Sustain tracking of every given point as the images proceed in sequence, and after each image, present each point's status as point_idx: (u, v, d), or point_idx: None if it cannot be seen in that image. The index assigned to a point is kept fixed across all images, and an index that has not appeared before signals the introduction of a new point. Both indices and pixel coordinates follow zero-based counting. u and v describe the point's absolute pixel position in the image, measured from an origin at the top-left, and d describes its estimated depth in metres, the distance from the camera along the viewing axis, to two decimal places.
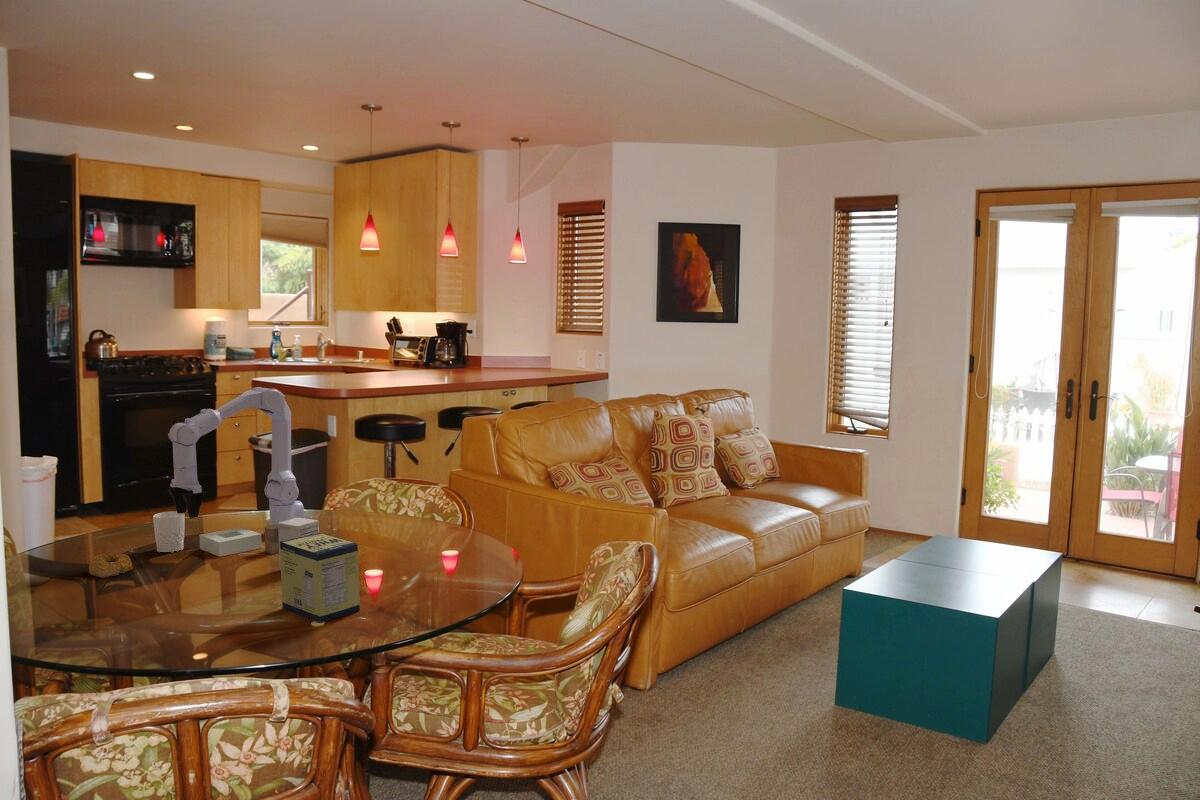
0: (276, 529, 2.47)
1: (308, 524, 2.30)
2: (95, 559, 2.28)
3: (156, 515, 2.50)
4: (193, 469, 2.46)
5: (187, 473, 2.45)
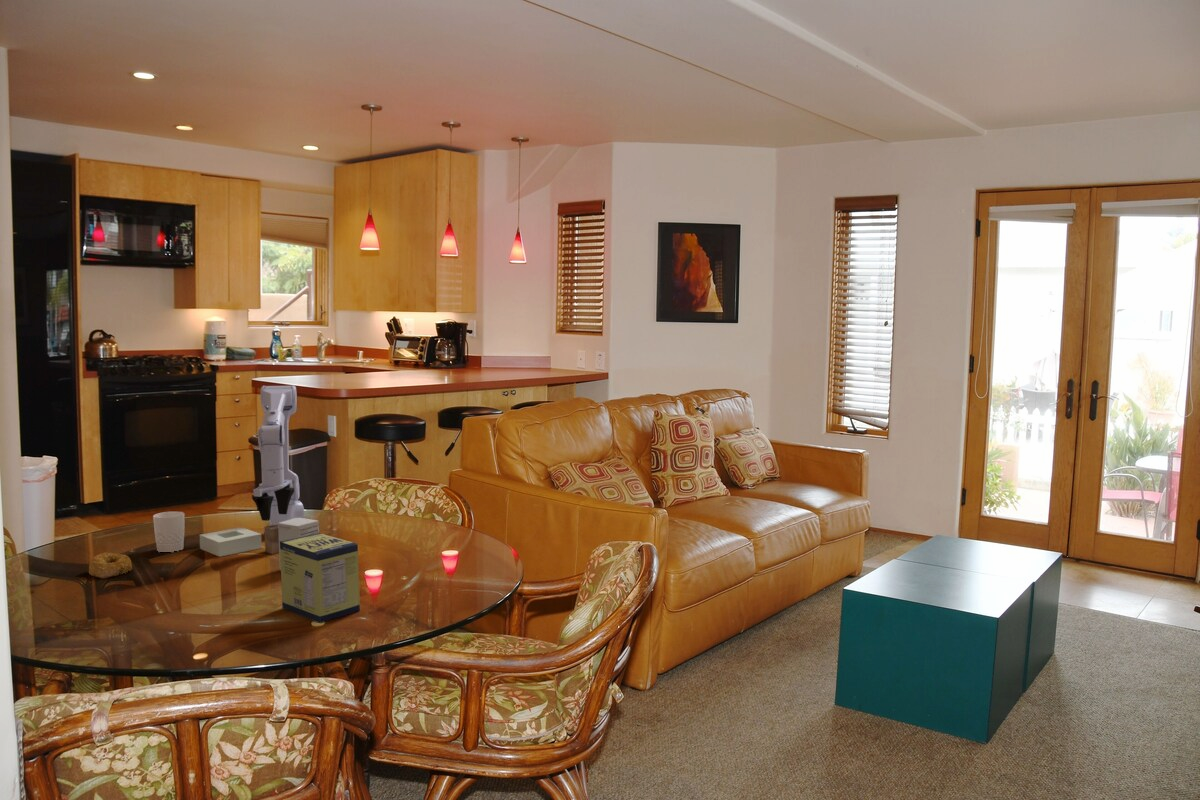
0: (276, 529, 2.47)
1: (308, 524, 2.30)
2: (95, 559, 2.27)
3: (156, 515, 2.50)
4: (270, 472, 2.44)
5: (264, 475, 2.45)
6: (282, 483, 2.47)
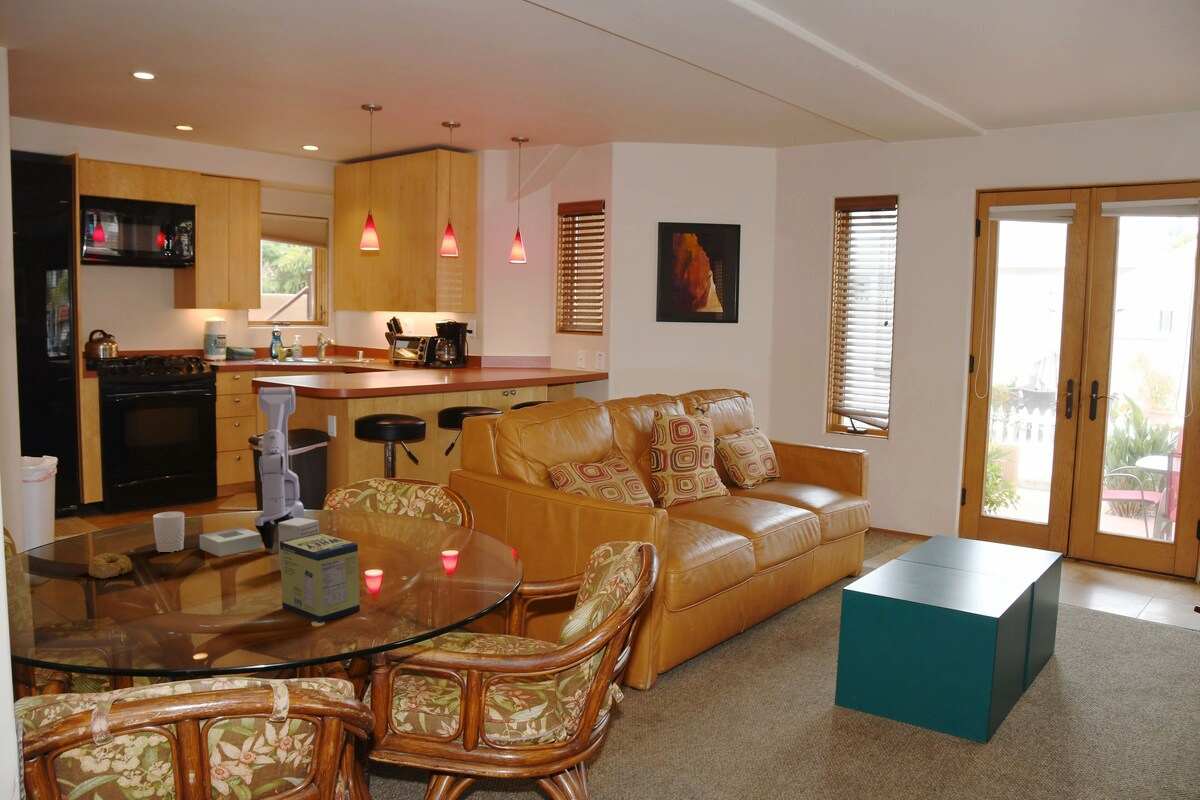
0: (276, 529, 2.47)
1: (308, 524, 2.30)
2: (95, 560, 2.27)
3: (156, 515, 2.50)
4: (271, 501, 2.45)
5: (265, 504, 2.45)
6: (283, 511, 2.48)
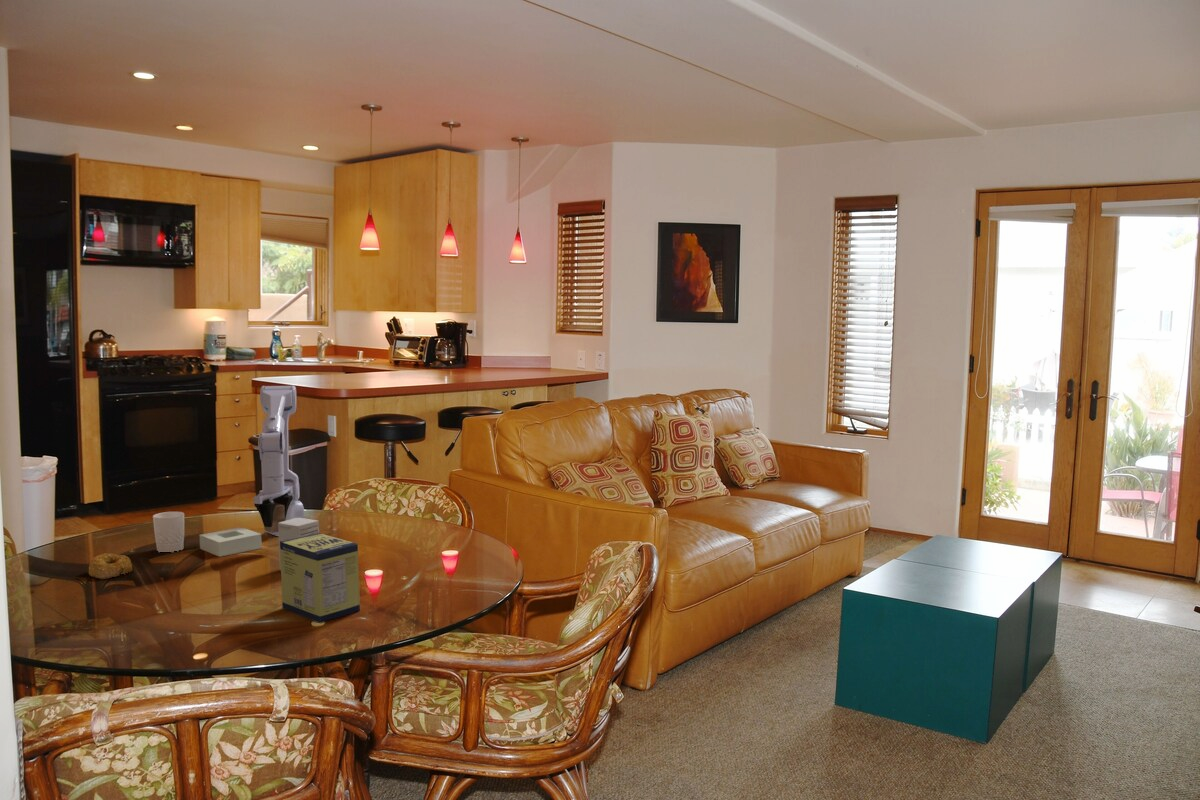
0: (275, 508, 2.46)
1: (308, 524, 2.30)
2: (95, 560, 2.26)
3: (156, 515, 2.50)
4: (270, 479, 2.44)
5: (264, 482, 2.45)
6: (282, 490, 2.47)
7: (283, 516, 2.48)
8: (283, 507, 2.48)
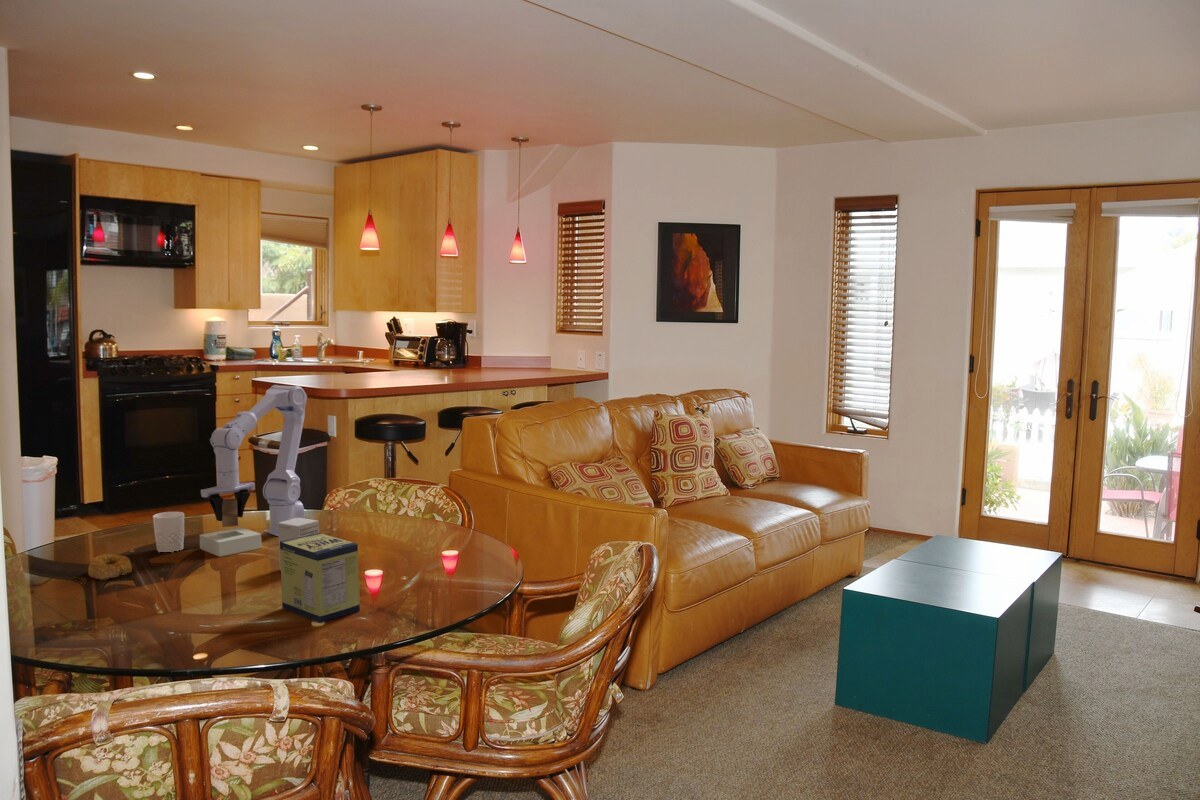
0: (227, 503, 2.49)
1: (308, 524, 2.30)
2: (94, 561, 2.26)
3: (156, 515, 2.50)
4: (220, 474, 2.47)
5: None
6: (233, 486, 2.48)
7: (235, 512, 2.50)
8: (235, 503, 2.49)
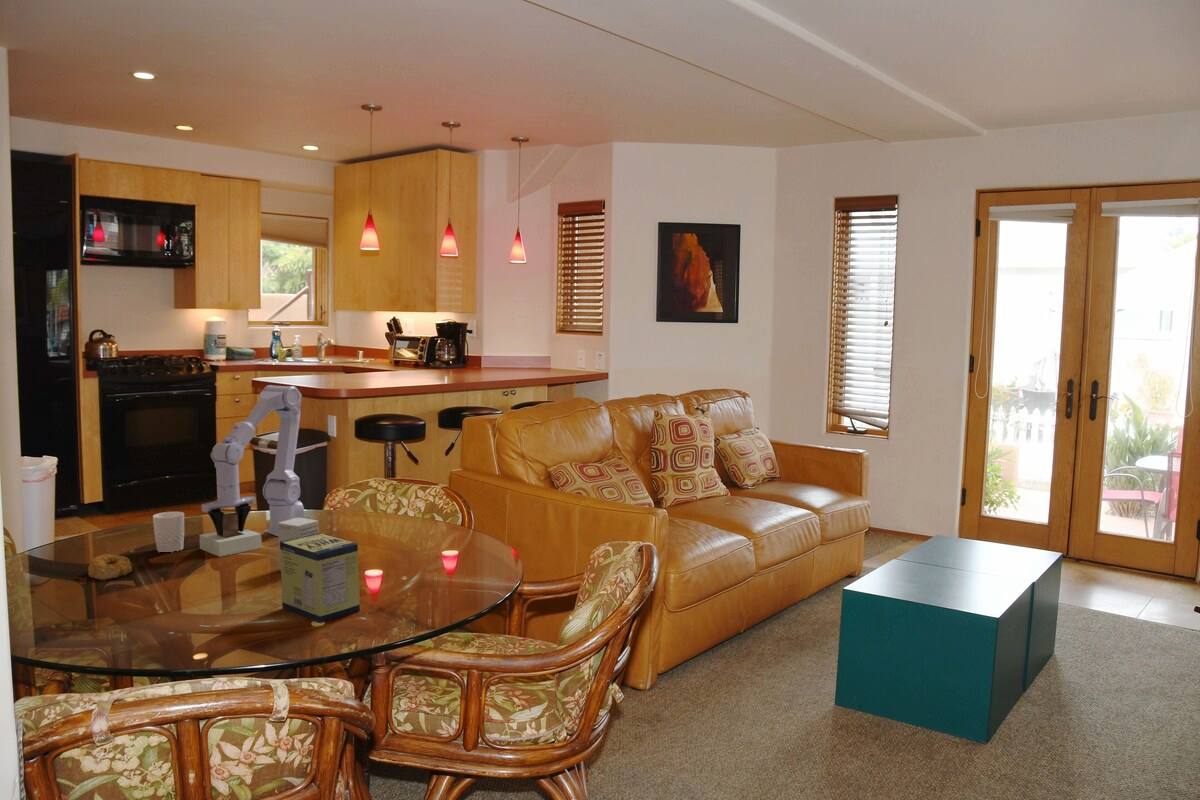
0: (227, 517, 2.49)
1: (308, 524, 2.30)
2: (94, 561, 2.26)
3: (156, 515, 2.50)
4: (220, 489, 2.48)
5: (217, 491, 2.49)
6: (234, 500, 2.49)
7: (236, 526, 2.50)
8: (236, 517, 2.50)
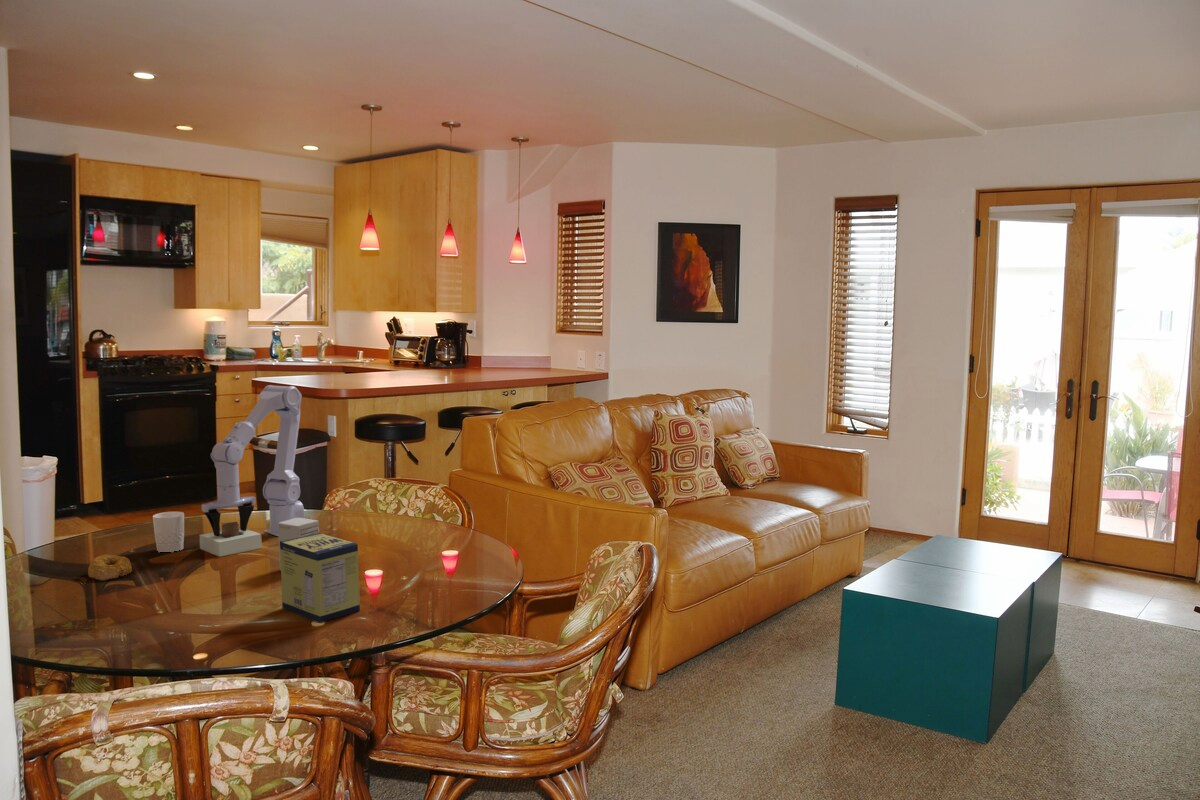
0: (228, 527, 2.49)
1: (308, 524, 2.30)
2: (94, 562, 2.25)
3: (156, 515, 2.50)
4: (220, 489, 2.48)
5: (217, 491, 2.49)
6: (234, 500, 2.49)
7: (237, 535, 2.51)
8: (237, 526, 2.50)
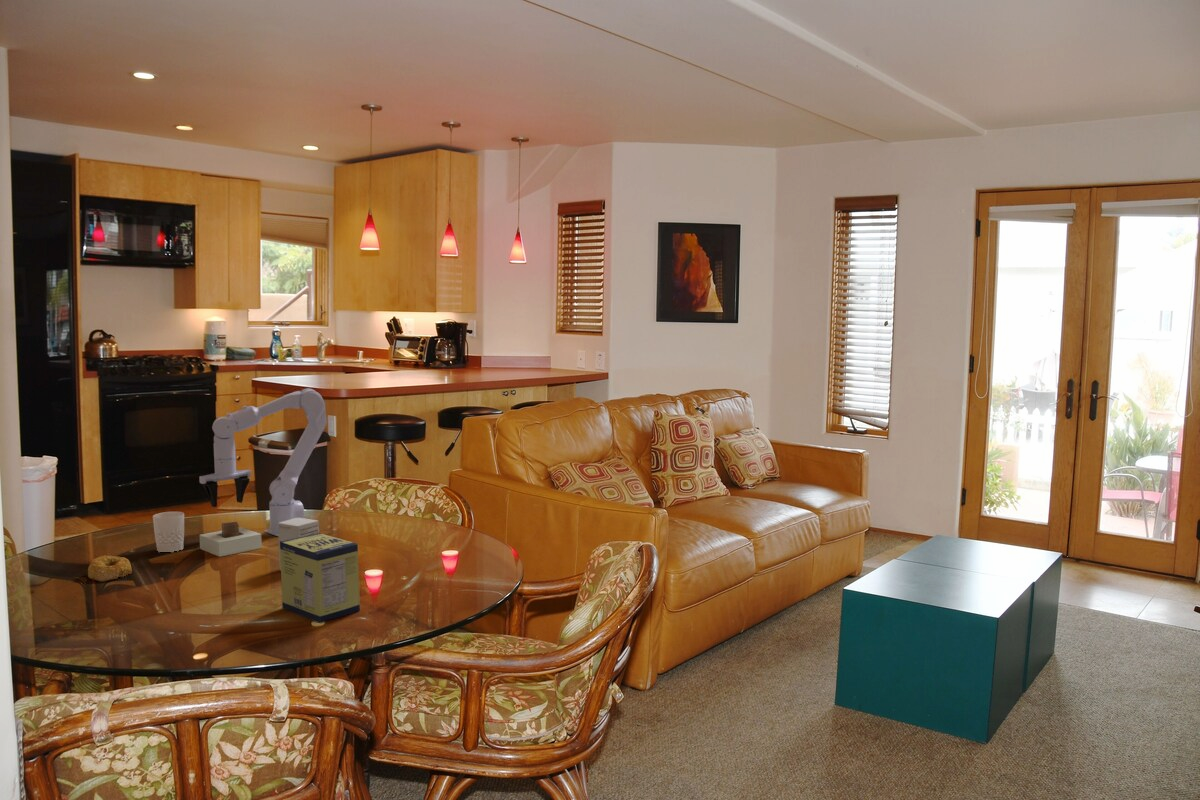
0: (228, 527, 2.49)
1: (308, 524, 2.30)
2: (94, 562, 2.25)
3: (156, 515, 2.50)
4: (217, 462, 2.59)
5: None
6: (230, 473, 2.60)
7: (237, 535, 2.51)
8: (237, 526, 2.50)
